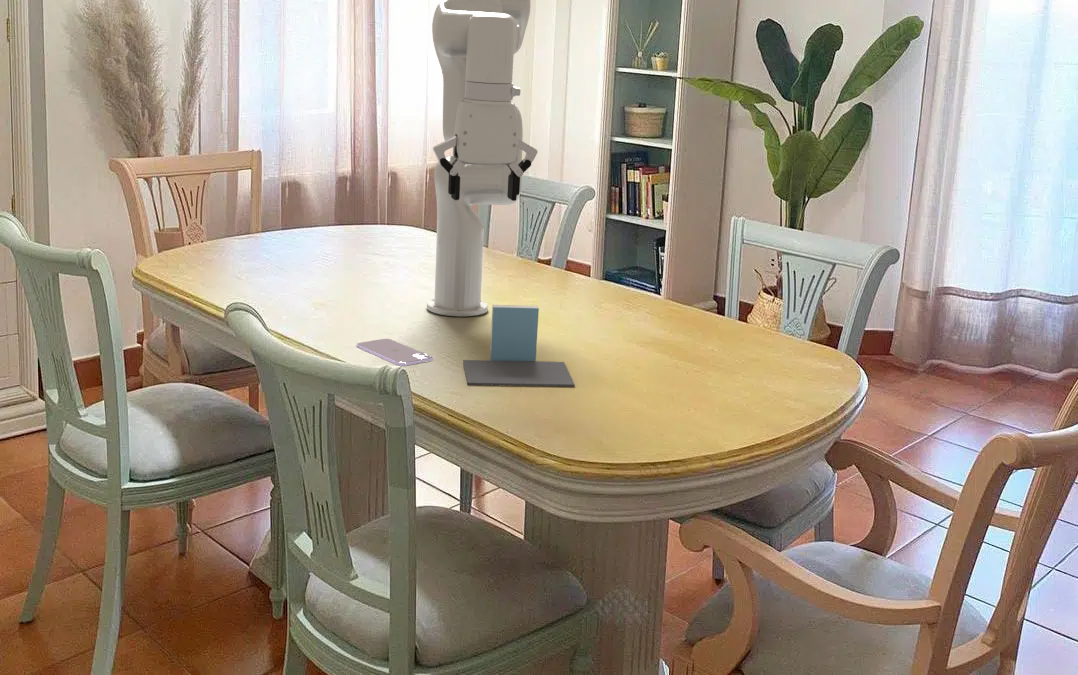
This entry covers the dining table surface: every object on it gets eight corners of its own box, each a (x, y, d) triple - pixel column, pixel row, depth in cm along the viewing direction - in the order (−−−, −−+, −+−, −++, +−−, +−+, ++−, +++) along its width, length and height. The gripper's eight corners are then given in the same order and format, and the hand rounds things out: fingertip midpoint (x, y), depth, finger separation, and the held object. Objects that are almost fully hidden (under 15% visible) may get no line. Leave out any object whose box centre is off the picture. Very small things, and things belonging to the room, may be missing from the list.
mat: (462, 362, 207) (463, 359, 207) (563, 364, 209) (563, 361, 209) (467, 385, 195) (467, 382, 195) (574, 386, 197) (574, 384, 197)
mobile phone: (388, 336, 218) (436, 356, 207) (388, 341, 218) (436, 362, 208) (353, 342, 213) (400, 363, 202) (353, 347, 213) (400, 368, 203)
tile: (490, 358, 210) (492, 304, 207) (534, 359, 211) (537, 305, 208) (490, 362, 208) (493, 307, 206) (535, 362, 209) (538, 308, 207)
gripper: (533, 93, 195) (527, 196, 200) (430, 89, 190) (427, 195, 195) (546, 97, 188) (540, 203, 193) (440, 93, 183) (436, 202, 188)
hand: (483, 199), depth 194 cm, fingers open, 9 cm apart
